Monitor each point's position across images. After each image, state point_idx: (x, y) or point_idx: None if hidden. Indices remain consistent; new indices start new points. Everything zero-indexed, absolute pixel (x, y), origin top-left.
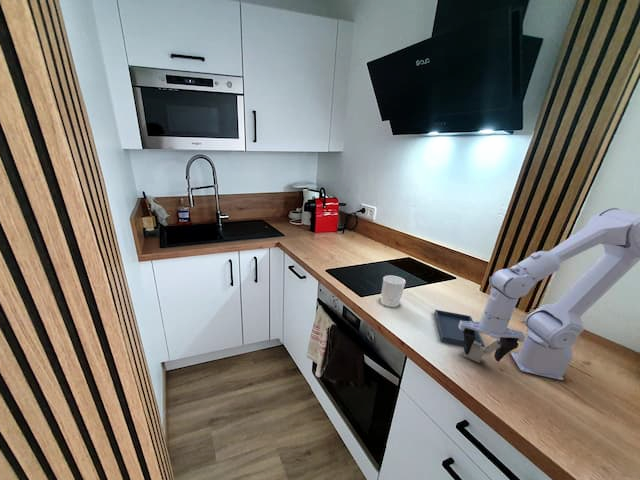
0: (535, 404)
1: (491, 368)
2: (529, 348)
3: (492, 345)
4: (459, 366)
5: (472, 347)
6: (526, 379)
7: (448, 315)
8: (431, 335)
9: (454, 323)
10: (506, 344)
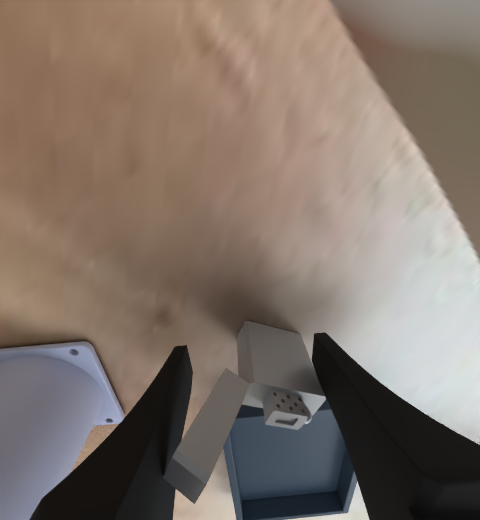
0: (16, 120)
1: (201, 308)
2: (9, 490)
3: (225, 438)
4: (338, 260)
5: (300, 383)
6: (68, 301)
7: (301, 500)
8: None
9: (289, 475)
10: (132, 503)
